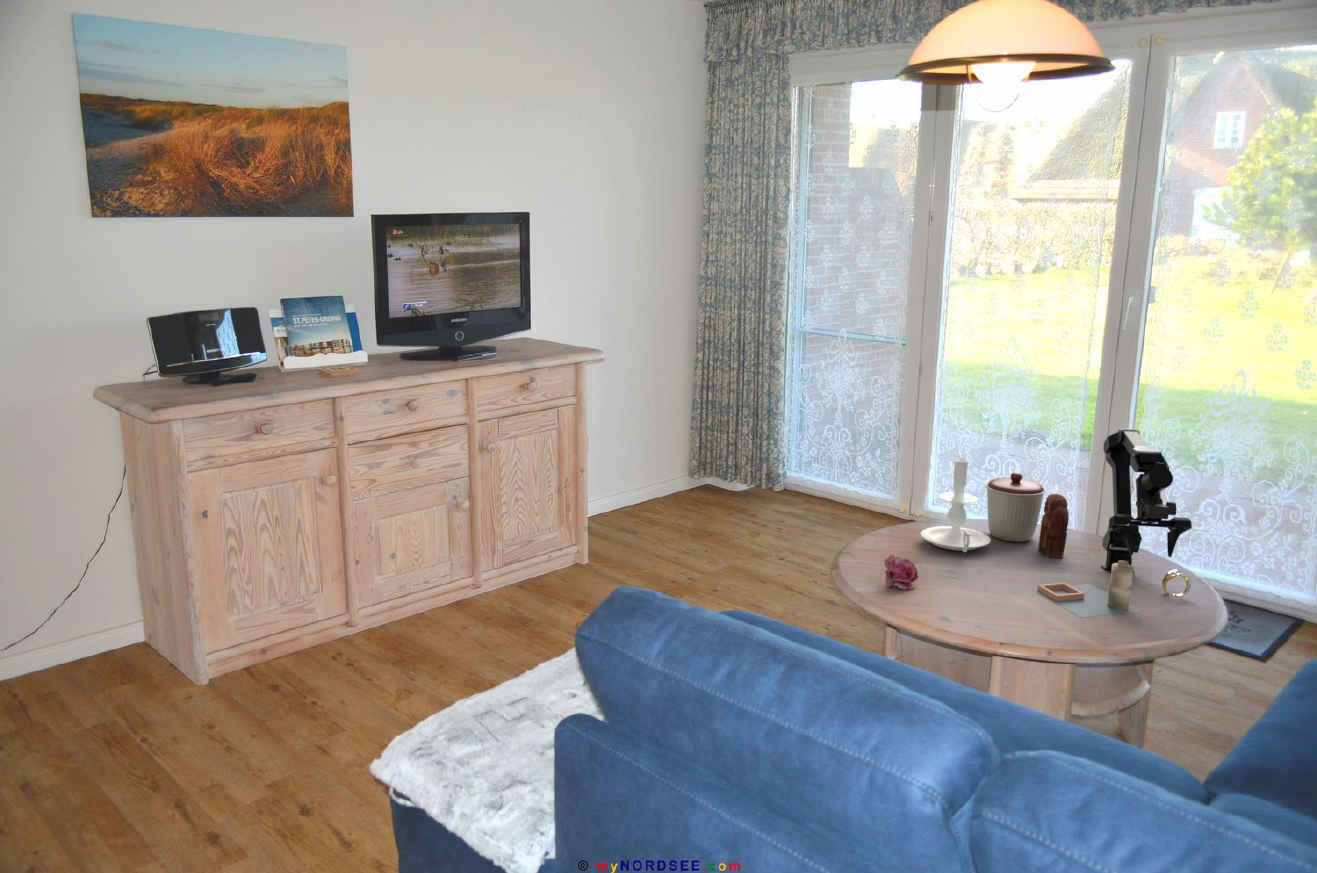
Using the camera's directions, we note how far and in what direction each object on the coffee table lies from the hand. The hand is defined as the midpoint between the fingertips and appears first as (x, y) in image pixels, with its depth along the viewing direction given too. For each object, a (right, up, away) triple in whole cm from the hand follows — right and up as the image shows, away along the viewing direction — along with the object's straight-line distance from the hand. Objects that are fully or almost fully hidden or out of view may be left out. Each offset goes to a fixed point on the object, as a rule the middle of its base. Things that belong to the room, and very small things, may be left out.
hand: (1150, 555), depth 257 cm
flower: (-61, -10, +15) cm, 64 cm away
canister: (-16, -1, +57) cm, 60 cm away
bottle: (-9, -13, -2) cm, 16 cm away
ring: (+10, -12, +8) cm, 18 cm away
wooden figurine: (-9, -4, +43) cm, 44 cm away
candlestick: (-37, -3, +46) cm, 59 cm away
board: (-16, -13, +3) cm, 21 cm away
